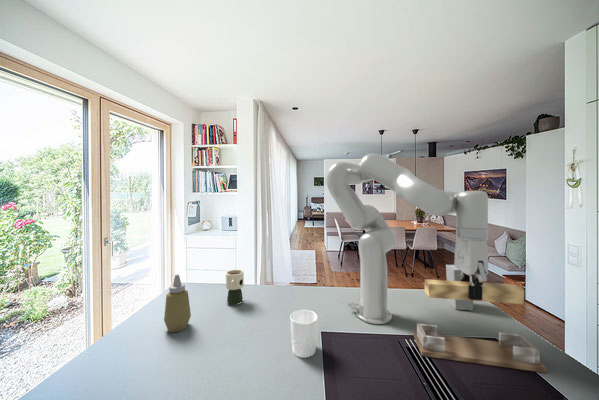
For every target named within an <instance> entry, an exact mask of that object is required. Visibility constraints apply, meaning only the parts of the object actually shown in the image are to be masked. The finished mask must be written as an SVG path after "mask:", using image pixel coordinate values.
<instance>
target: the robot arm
mask: <svg viewBox="0 0 599 400" xmlns="http://www.w3.org/2000/svg"><path fill="white" fill-rule="evenodd" d="M372 181H376V182H378V183H379V184H381V185H382V186H385V187H386V188H388V189H389V190H391V191H392V192H394V193H395V194H396V195H398V196H400V197H401V198H403V200H405V201H406V202H407V203H409V204H411V205H413V206H415V207H416V208H418V209H420V210H421V211H423V212H425V213H427V214H429V215H431V216H434V217H443V216H446V215H450V214H451V215H452V214H455V226H456V227H455V238H456V240H455V246H454V247H455V248H454V263H453V265H455V267H456V268H458V269H459V270H460V272H461V274H460V277H461V281H463V282H470V285H469V299H471V300H482V287H483V283H487V281H488V277H487V276H488V275H489V273H488V272H489V253H488V252H489V251H488V244H487V241H488V240H489V195H488V193H487V192H486V191H484V190H483V191H482V190H463V191H448V190H441V189H439V188H437V187H435V186H433V185H431V184H430V183H427V182H425V181H424V180H421V178H418V177H417V176H416V175H414V174H413V172H412V171H411V170H410V169H408V168H406V167H404V166H402V165H400V164H398V163H396V162H394V161H392V160H390V158H388V157H386V156H385V155H381V154H378V153H377V152H376V153H374V152H373V153H372V152H371V153H367V154H365V156H363V158H362V159H361V161H360V162H359V163H352V162H347V161H340V162H339V161H338V162H336V163H334V164H333V165H331V166H330V167H329V169H328V171H327V175H326V185H327V186H326V187H327V189H328V192H329V194H330V195H331V197H332V198H333V200H334V202H335V203H336V205H337V207H338V208H339V210H340V212H341V214H342V215H343V217H344V218H345V220H346V222H347V224H348V225H349V227H350V228H351V229H352V230H353V231H363V230H364V231H365V232H364V233H363V234H362V235H361V236H360V238H359V239H358V254H359V262H360V263H359V264H360V265H359V266H360V273H359V274H360V281H359V284H360V289H359V291H360V292H359V293H360V295H359V297H360V298H359V299H358V300H357V301H349V300H348V301H347V307H349V308H350V310H354V311H355V310H356V311H355V314H356V316H357V317H358V319H360V320H361V321H363V322H365V323H369V324H371V325H385V324H388V323H390V322H391V321H392V319H393V317H392V316H393V315H392V312H390V311H389V310H388V262H387V257H386V255H387V254H386V253H388V252H389V251H391V250H393V248H394V247H395V246H396V245H395V244H396V237H395V234H394V231H393V230H392V229H391V227H390V225H389V224H388V223H387V221H386V220H385V218H384V217H383V215H382V214H381V212H380V211H379V210H378V209H377V208H376V207H375V206H373V205H370V204H364V203H363V202H362V200H361V199H360V198H359V196H358V194H357V193H356V191H355V190H354V189H353V188H352V187H351V185H358V184H362V183H363V184H364V183H367V182H372Z"/></svg>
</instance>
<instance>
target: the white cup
mask: <svg viewBox="0 0 599 400" xmlns="http://www.w3.org/2000/svg"><path fill="white" fill-rule="evenodd" d="M289 319H290V339H291V347H292V349H291V350H292V354H293V355H295V356H296V357H297V358H301V359H305V358H306V359H307V357H308V358H310V356H311V357H313V356H314V355H315V354H316V351H317V350H316V347H317V338H318V337H317V336H318V321H319V319H318V314H317V313H316V312H314V311H313V310H309V309H298V310H295V311H293V312H292V313H291V314H290V315H289Z"/></svg>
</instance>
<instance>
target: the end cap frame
mask: <svg viewBox="0 0 599 400" xmlns="http://www.w3.org/2000/svg"><path fill="white" fill-rule="evenodd" d="M412 335H413V337H414V340H415V342H416V345H417V348H418V350H419V352H420V355H421V357H429V358H435V359H441V358H442V360H449V361H458V362H466V363H470V364H471V363H472V364H480V365H485V366H495V367H500V368H501V367H502V368H508V369H516V370H522V371H531V372H537V373H546V374H547V373H548V368H547V367H546V366H545V365H544V364H543V363H542V362H541V361H540V360H541V359H540V358H541V350H539V349H538V347H536V346H535V345H534V344H533V343H531V342H530V341H529V340H528V339H527V338H526V337H525V336H524V335H522V334H517V333H510V332H509V333H508V332H499V331H498V340H497V341H496V340H487V339H480V338H473V337H472V338H471V337H464V336H463V337H462V336H456V335H454V336H453V335H446V334H445V335H444V334H438V326H437V325H436V324H428V323H416V331H413V334H412Z"/></svg>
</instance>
